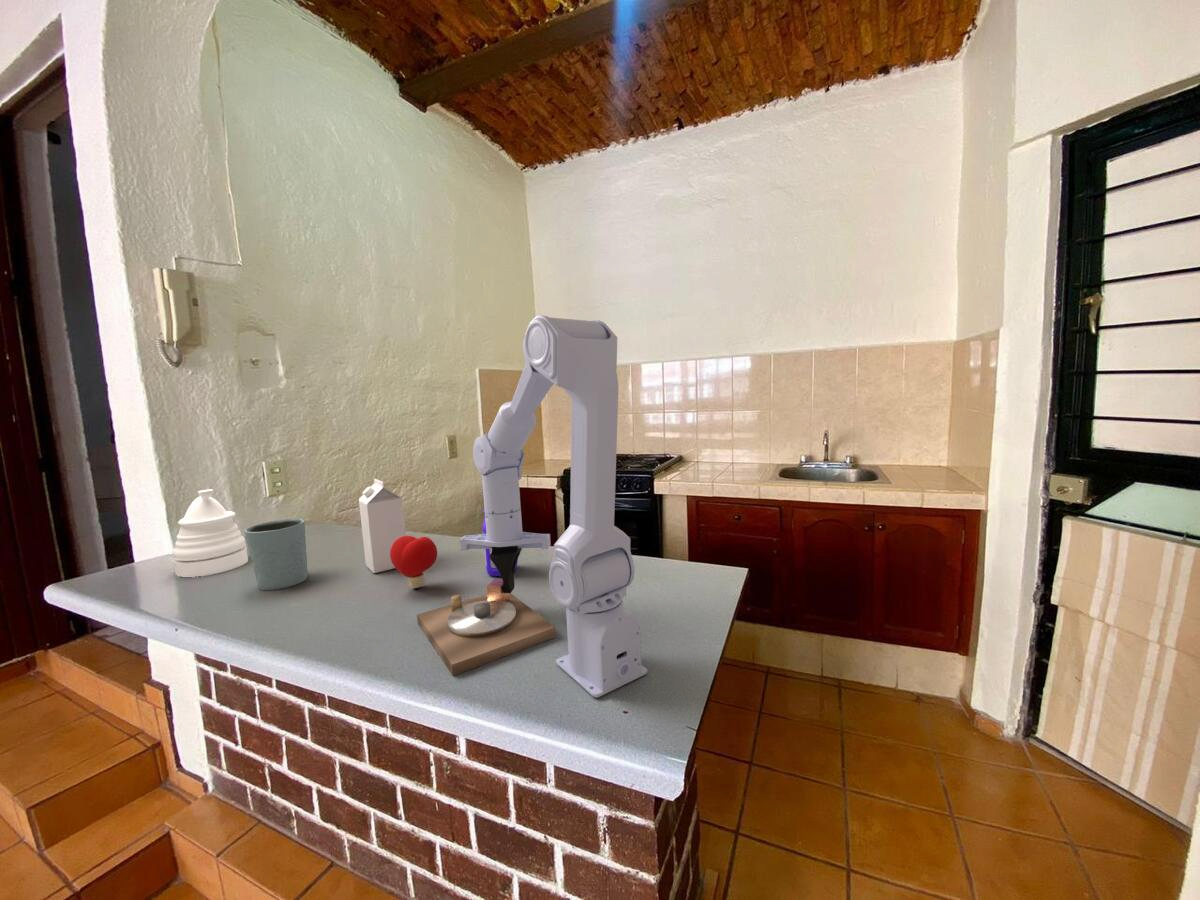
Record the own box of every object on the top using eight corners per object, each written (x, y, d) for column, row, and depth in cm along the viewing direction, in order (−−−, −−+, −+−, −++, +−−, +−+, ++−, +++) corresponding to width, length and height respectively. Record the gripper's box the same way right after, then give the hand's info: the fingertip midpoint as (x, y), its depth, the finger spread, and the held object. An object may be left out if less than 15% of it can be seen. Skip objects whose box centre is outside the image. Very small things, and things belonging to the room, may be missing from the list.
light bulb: (383, 593, 87) (378, 541, 85) (410, 579, 93) (405, 530, 92) (424, 598, 84) (419, 544, 82) (449, 583, 90) (444, 533, 89)
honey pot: (258, 562, 109) (248, 486, 107) (188, 581, 98) (175, 498, 96) (234, 554, 116) (224, 483, 114) (166, 572, 105) (154, 493, 103)
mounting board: (555, 636, 68) (554, 612, 67) (452, 675, 59) (450, 647, 59) (505, 597, 83) (504, 576, 82) (417, 623, 74) (415, 600, 74)
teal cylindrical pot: (289, 591, 90) (282, 530, 89) (238, 593, 90) (230, 533, 89) (322, 571, 100) (315, 517, 99) (276, 573, 101) (268, 519, 99)
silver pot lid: (500, 638, 65) (498, 615, 65) (435, 634, 67) (433, 612, 67) (530, 599, 77) (529, 580, 77) (475, 597, 79) (473, 578, 79)
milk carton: (399, 557, 107) (391, 476, 105) (409, 565, 101) (400, 479, 99) (365, 566, 102) (356, 481, 100) (374, 574, 97) (364, 484, 95)
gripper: (552, 503, 78) (557, 580, 80) (469, 505, 80) (475, 581, 81) (542, 513, 71) (548, 598, 73) (451, 515, 73) (459, 598, 74)
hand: (509, 590), depth 77 cm, fingers closed, pressing on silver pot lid
